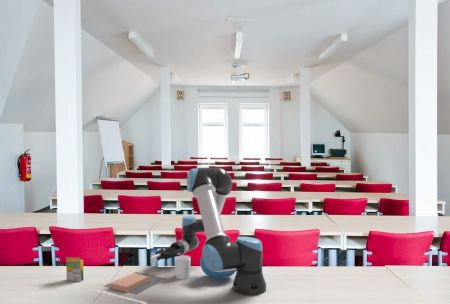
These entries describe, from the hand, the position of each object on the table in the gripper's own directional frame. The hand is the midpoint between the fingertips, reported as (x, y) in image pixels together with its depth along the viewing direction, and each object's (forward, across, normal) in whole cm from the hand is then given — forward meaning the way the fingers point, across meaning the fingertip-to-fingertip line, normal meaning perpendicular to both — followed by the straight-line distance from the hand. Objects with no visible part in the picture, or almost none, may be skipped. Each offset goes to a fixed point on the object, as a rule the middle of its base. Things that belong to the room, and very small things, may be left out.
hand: (151, 259), depth 198 cm
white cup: (-5, -15, -8) cm, 18 cm away
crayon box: (+22, +29, -8) cm, 38 cm away
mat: (+11, 0, -8) cm, 14 cm away
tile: (+8, 0, -6) cm, 10 cm away
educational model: (-14, -31, -8) cm, 35 cm away
